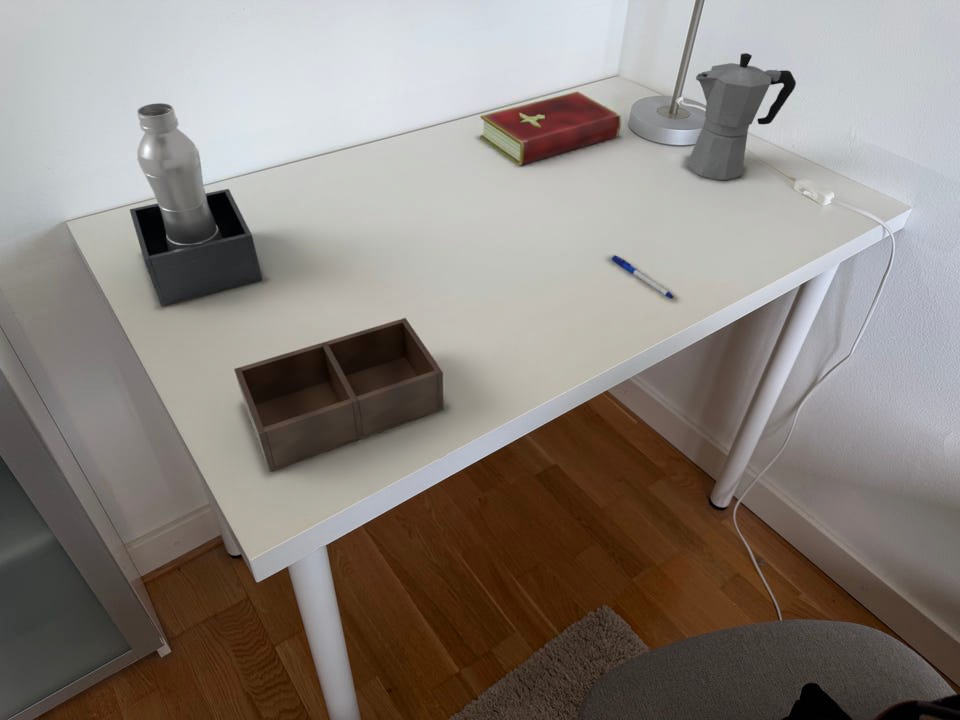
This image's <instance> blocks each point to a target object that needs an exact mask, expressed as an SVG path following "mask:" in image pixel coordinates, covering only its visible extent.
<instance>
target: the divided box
mask: <svg viewBox="0 0 960 720" xmlns="http://www.w3.org/2000/svg"><path fill="white" fill-rule="evenodd" d="M233 371H234V374H235V378H236V381H237V383H238V387H239V390H240V393H241V397H242V400H243V403H244V407H245V410H246V412H247V415H248V417H249V420H250V423H251V426H252V429H253V431H254V433H255V436H256V439H257V441H258V444H259V447H260V450H261V453H262V455H263V458H264V460H265V463H266V465H267V468H268V471H269V472H272V471H275V470H278V469H280V468H283V467H286V466H289V465H292V464H295V463H298V462H301V461H304V460H306V459H309V458H312V457H314V456H317V455H319V454H322V453H326V452H328V451H331V450H334V449H336V448H339V447H342V446H345V445H349V444H350V443H353V442H356V441H359V440H362V439H365V438H368V437H370V436H372V435H375V434H378V433H382V432H384V431H387V430H389V429H392V428H395V427H397V426H401V425H403V424H406V423H409V422H412V421H414V420H417V419H420V418H424V417H426V416H429V415H432V414H435V413H437V412H439V411H442V410H444V372H443V370H442V369H441V367H440V366H439V364H438V363H437V362H436V359H434V357H433V356H432V355H431V352H430V351H429V350H428V348H427V347H426V346H425V344H424V343H423V341H422V340H421V338H420V337H419V335H418V333H417V332H416V330H415V329H414V327H412V325H411V324H410V322H409V321H408V319H407V317H404V318H400V319H396V320H393V321H390V322H386V323H383V324H380V325H376V326H373V327H370V328H366V329H363V330H360V331H357V332H354V333H350V334H347V335H343V336H340V337H337V338H333V339H330V340H327V341H324V342H319V343H315V344H313V345H309V346H306V347H302V348H300V349H297V350H293V351H289V352H287V353H282V354H279V355H277V356H273V357H269V358H265V359H263V360H259V361H256V362H252V363H249V364H246V365H241V366H240V367H235V368H234V369H233Z"/></svg>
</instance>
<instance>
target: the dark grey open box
mask: <svg viewBox="0 0 960 720" xmlns="http://www.w3.org/2000/svg"><path fill="white" fill-rule="evenodd" d="M205 195H206V198H207V202H208V205H209V208H210V211H211V213H212V216H213V218H214V221H215V223H216V225H217V227H218V229H219V230H220V232H221V235H222V237H223V239H221V240H216V241H212V242H208V243H203V244H199V245H195V246H190V247H186V248H182V249H177V250H173V251H168V245H167V238H166V230H165V225H164V221H163V217H162V213H161V210H160V207H159V205H158V202H157V203H154V204H147V205H143V206H139V207H134V208H129V213H130V217H131V221H132V223H133V226H134V231H135V235H136V237H137V241H138V244H139V248H140V251H141V255H142V258H143V262H144V264H145V267H146V269H147V271H148V274H149V277H150V280H151V283H152V286H153V288H154V292H155V294H156V296H157V299H158V302H159V304H160V307H165V306H169V305H173V304H177V303H181V302H184V301H189V300H193V299H197V298H200V297H204V296H208V295H212V294H215V293H216V294H217V293H220V292H223V291H224V292H225V291H227V290H232V289H235V288H240V287H243V286H246V285H251V284H254V283H258V282H262V281H263V276H262V272H261V267H260V263H259V260H258V255H257V250H256V246H255V242H254V238H253V234H252V232H251V230H250V228H249V226H248V224H247V222H246V220H245V218H244V216H243V214H242V212H241V210H240V208H239V206H238V205H237V202H236V200H235V199H234V196H233V195H232V193H231V190H230V188H226V189H221V190H216V191H211V192H205Z"/></svg>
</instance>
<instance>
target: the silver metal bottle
mask: <svg viewBox="0 0 960 720" xmlns="http://www.w3.org/2000/svg"><path fill="white" fill-rule="evenodd" d="M136 112H137V117H138V120H139V127H140V130H142V131H143V132H144V133H143V136H142V137H141V140H140V142H139V144H138V148H137V153H136V154H137V162H138V164H139V167H140V169H141V170H142V173H143V175H144V177H145V179H146V180H147V182H148V185H149V186H150V188H151V191H152V192H153V195H154V197H155V200H156V202H157V203H158V205H159V207H160V210H161V213H162V217H163V221H164V225H165V230H166V238H167V245H168V251H173V250H177V249H182V248H186V247H190V246H195V245H199V244H203V243H208V242H212V241H216V240H221V239H223V237H222V235H221V232H220V230H219V229H218V227H217V225H216V223H215V221H214V218H213V216H212V213H211V211H210V208H209V205H208V202H207V198H206V195H205V194H206V189H205V185H204V179H203V172H202V163H201V156H200V152H199V151H200V150H199V149H198V147H197V146H196V144H195V142H194V141H193V140H192V139H191V138H190V137H189V136H188V135H186V134H185V133H184V132H183V131H181V130H180V129H179V128H178V126H179V125H180V124H179V120H178V118H177V116H176V112H175V109H174V106H173V105H171V104H168V103H164V102H163V103H162V102H156V103H155V102H154V103H149V104H145V105H143V106H140V107H139V108H138V109H137V111H136Z"/></svg>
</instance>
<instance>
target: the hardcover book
mask: <svg viewBox="0 0 960 720" xmlns="http://www.w3.org/2000/svg"><path fill="white" fill-rule="evenodd" d="M480 119H481V120H483V129H482V130H483V133H482V135H479V139H480V140H482V141H483V142H485V143H486V144H488V145H489V146H490V147H492V148H493V149H494V150H496V151H497V152H499V153H501V154H502V155H503V156H505V157H506V158H507V159H509V160H510V161H511V162H512V163H514V164H516V165H517V166H518V167H519V166H522V165H523V166H524V165H526V164H530V163H533V162H536V161H539V160H544V159H546V158H547V159H548V158H551V157H553V156H557V155H560V154H564V153H567V152H570V151H574V150H577V149H581V148H585V147H587V146H590V145H594V144H595V145H596V144H597V143H602V142H605V141H608V140H612V139H614V138H617V137H619V134H620V131H621V125H622V115H621V114H620V113H617V112H616V111H615V110H613V109H611V108H609V107H607V106H606V105H603V104H601V103H599V102H598V101H596V100H594V99H593V98H591V97H589V96H587V95H585V94H583V93H582V92H580V91H574V92H570V93H566V94H562V95H558V96H554V97H550V98H546V99H542V100H538V101H535V102H530V103H526V104H521V105H519V106H515V107H510V108H507V109H502V110H498V111H494V112H491V113H486V114H482V115H480Z"/></svg>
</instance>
